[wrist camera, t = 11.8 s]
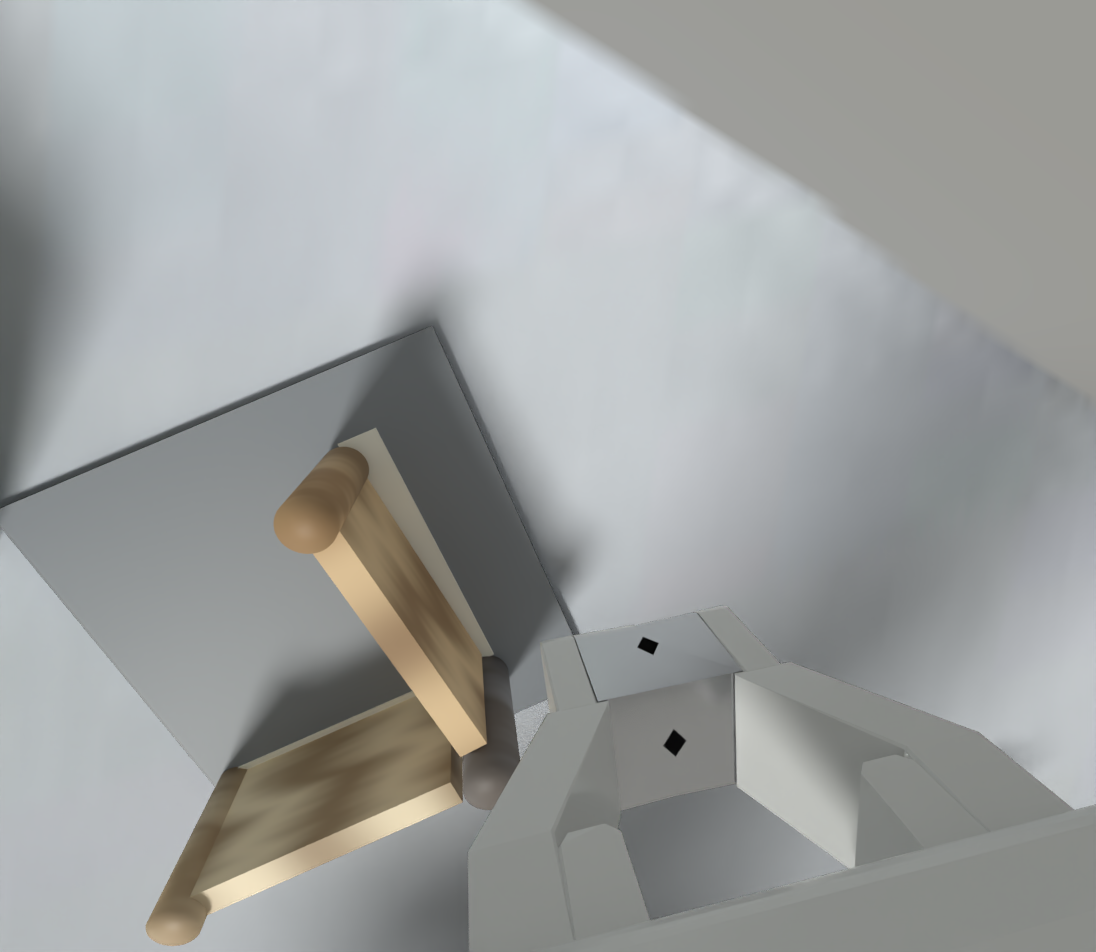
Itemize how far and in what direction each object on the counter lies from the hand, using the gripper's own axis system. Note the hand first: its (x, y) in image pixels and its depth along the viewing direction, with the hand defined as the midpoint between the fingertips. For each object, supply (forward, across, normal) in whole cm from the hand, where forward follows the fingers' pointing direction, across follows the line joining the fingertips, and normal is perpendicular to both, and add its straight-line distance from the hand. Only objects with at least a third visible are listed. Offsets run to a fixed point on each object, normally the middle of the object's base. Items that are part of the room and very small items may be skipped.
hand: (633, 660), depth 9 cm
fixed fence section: (+18, +10, +14) cm, 25 cm away
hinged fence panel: (+17, +6, +5) cm, 19 cm away
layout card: (+18, +10, +7) cm, 22 cm away
